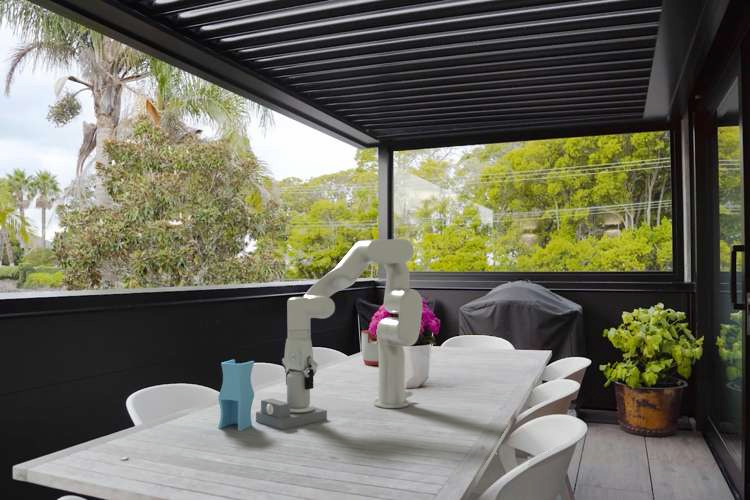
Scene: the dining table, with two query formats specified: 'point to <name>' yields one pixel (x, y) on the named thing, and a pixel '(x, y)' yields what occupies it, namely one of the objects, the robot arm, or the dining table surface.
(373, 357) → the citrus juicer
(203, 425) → the dining table surface
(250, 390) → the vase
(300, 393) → the can
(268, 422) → the scale
